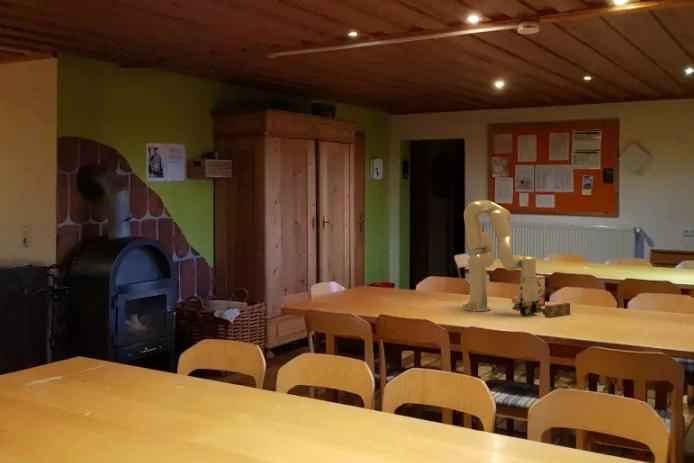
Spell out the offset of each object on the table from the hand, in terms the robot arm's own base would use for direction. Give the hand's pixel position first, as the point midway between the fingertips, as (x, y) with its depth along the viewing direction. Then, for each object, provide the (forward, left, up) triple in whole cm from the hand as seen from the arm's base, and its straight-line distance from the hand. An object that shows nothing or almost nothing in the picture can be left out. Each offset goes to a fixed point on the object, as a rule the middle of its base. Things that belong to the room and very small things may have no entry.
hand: (528, 313), depth 377 cm
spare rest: (0, 0, -1) cm, 1 cm away
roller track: (+11, +7, -1) cm, 13 cm away
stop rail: (+11, -10, -1) cm, 15 cm away
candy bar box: (+25, +21, -1) cm, 33 cm away
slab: (+11, +12, +2) cm, 16 cm away
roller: (0, 0, -1) cm, 1 cm away
